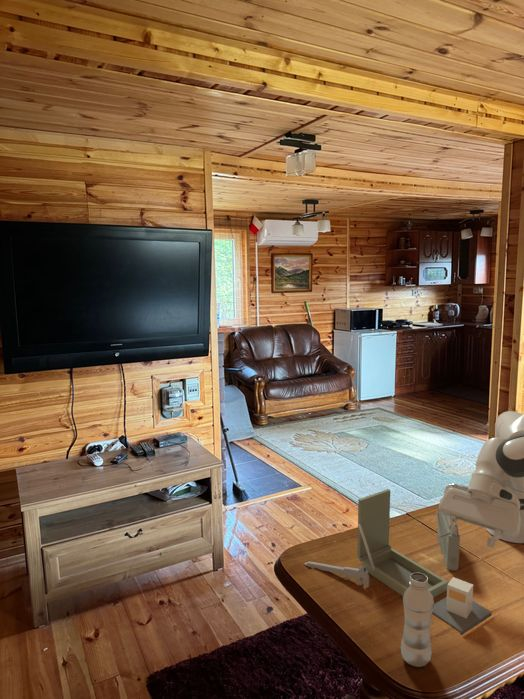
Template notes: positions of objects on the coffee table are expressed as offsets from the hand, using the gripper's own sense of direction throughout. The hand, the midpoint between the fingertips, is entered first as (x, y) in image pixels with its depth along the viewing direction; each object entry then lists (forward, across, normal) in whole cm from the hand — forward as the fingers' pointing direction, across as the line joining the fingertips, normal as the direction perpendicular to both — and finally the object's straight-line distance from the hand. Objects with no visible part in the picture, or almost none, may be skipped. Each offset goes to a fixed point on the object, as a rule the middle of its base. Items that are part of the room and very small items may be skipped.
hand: (470, 539), depth 131 cm
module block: (+17, +1, +3) cm, 17 cm away
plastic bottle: (+33, -1, -11) cm, 35 cm away
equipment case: (+15, -16, +6) cm, 23 cm away
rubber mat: (+18, +1, +4) cm, 18 cm away
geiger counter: (-1, -13, +23) cm, 26 cm away
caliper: (+23, -31, -1) cm, 39 cm away
